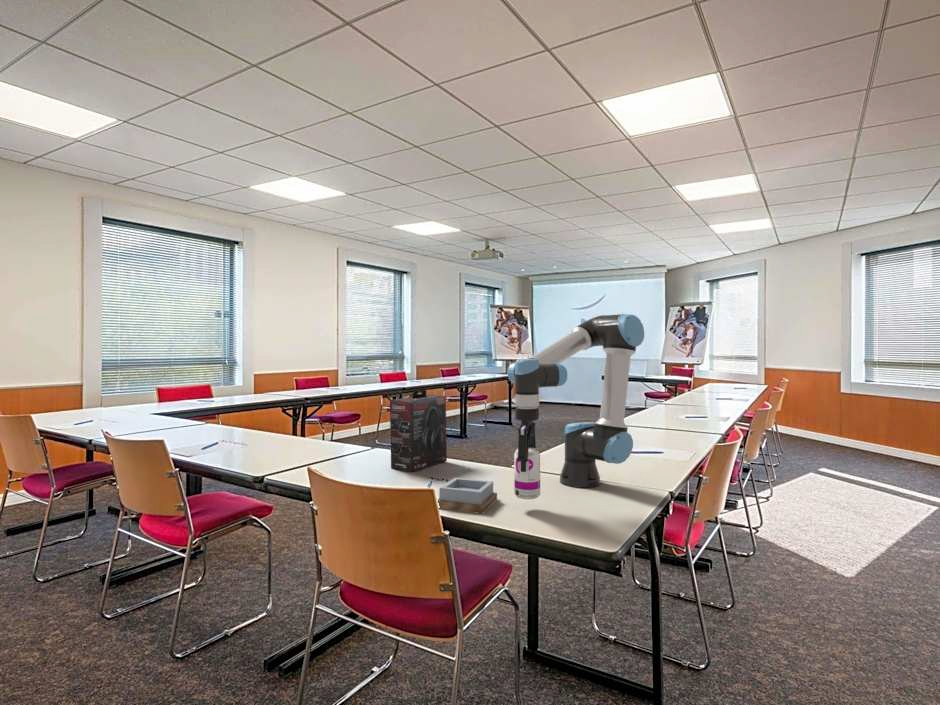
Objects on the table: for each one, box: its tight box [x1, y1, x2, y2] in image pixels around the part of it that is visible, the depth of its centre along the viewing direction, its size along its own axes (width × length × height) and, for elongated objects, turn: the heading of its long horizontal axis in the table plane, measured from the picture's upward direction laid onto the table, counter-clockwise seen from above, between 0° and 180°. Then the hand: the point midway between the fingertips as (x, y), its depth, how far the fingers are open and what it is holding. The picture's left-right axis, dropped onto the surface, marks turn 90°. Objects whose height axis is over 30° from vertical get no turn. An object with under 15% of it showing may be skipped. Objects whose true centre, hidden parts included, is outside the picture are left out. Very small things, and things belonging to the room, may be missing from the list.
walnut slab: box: [437, 491, 498, 514], centre depth 174 cm, size 16×16×3 cm
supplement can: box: [513, 447, 541, 500], centre depth 168 cm, size 8×8×15 cm
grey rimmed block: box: [438, 477, 494, 505], centre depth 174 cm, size 14×14×4 cm
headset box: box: [389, 388, 448, 473], centre depth 229 cm, size 24×13×33 cm, turn 145°
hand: (527, 477), depth 168 cm, fingers closed on supplement can, 8 cm apart
